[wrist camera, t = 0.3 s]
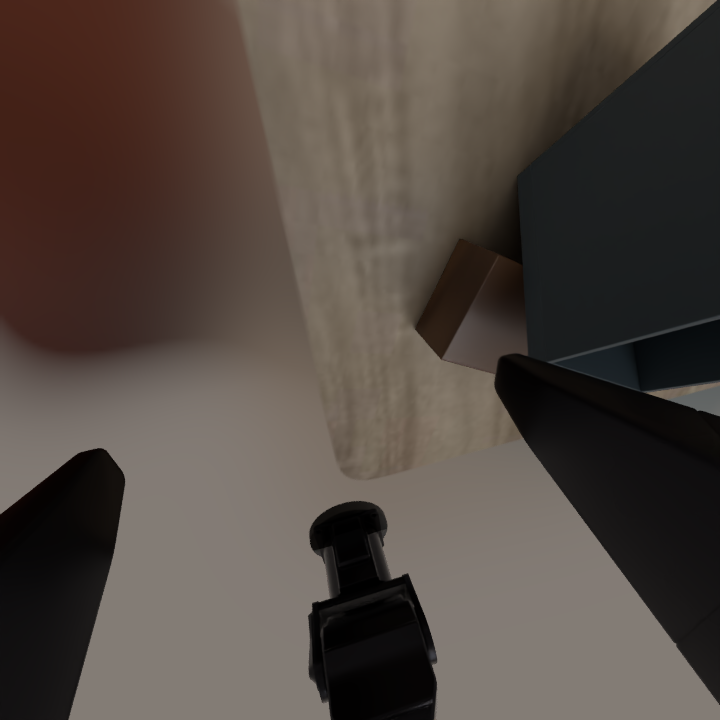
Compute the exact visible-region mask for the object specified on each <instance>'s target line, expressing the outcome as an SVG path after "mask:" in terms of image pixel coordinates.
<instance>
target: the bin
mask: <svg viewBox="0 0 720 720" xmlns="http://www.w3.org/2000/svg"><path fill="white" fill-rule="evenodd" d="M517 180H518V197H519V213H520V230H521V246H522V263H523V279H524V295H525V312H526V328H527V345H528V357H532V358H535V359H538V360H541V361H544V362H547V363H551V364H554V365H557V366H560V367H563V368H567V369H570V370H573V371H576V372H579V373H583V374H586V375H589V376H592V377H595V378H598V379H602V380H605V381H608V382H611V383H614V384H618V385H621V386H624V387H627V388H630V389H633V390H637V391H640V392H644V393H647V392H654V391H661V390H668V389H675V388H682V387H689V386H696V385H703V384H710V383H717V382H720V0H717V1H716V2H715V3H714V4H712V5H711V6H710V7H709V8H708V9H707V10H706V11H705V12H703V13H702V14H701V15H700V16H699V17H698V18H697V19H695V20H694V21H693V22H692V23H691V24H690V25H689V26H687V27H686V28H685V29H684V30H683V31H682V32H681V33H679V34H678V35H677V36H676V37H675V38H674V39H673V40H671V41H670V42H669V43H668V44H667V45H666V46H665V47H664V48H662V49H661V50H660V51H659V52H658V53H657V54H656V55H654V56H653V57H652V58H651V59H650V60H649V61H648V62H646V63H645V64H644V65H643V66H642V67H641V68H640V69H638V70H637V71H636V72H635V73H634V74H633V75H632V76H630V77H629V78H628V79H627V80H626V81H625V82H624V83H623V84H621V85H620V86H619V87H618V88H617V89H616V90H615V91H613V92H612V93H611V94H610V95H609V96H608V97H607V98H605V99H604V100H603V101H602V102H601V103H600V104H599V105H597V106H596V107H595V108H594V109H593V110H592V111H591V112H589V113H588V114H587V115H586V116H585V117H584V118H583V119H581V120H580V121H579V122H578V123H577V124H576V125H575V126H574V127H572V128H571V129H570V130H569V131H568V132H567V133H566V134H564V135H563V136H562V137H561V138H560V139H559V140H558V141H556V142H555V143H554V144H553V145H552V146H551V147H550V148H548V149H547V150H546V151H545V152H544V153H543V154H542V155H540V156H539V157H538V158H537V159H536V160H535V161H534V162H533V163H532V164H531V165H529V166H528V167H527V168H526V169H525V170H524V171H523V172H521V173H520V174H519V175H518V176H517Z"/></svg>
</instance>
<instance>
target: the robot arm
mask: <svg viewBox="0 0 720 720" xmlns="http://www.w3.org/2000/svg"><path fill="white" fill-rule="evenodd" d="M494 385H495V390H496V392H497V394H498V396H499V398H500V399H501V401H502V403H503V404H504V406H505V408H506V409H507V411H508V413H509V415H510V416H511V418H512V420H513V421H514V423H515V425H516V427H517V428H518V430H519V432H520V433H521V435H522V437H523V438H524V440H525V441H526V443H527V444H528V446H529V447H530V448H531V450H532V451H533V452H534V454H535V455H536V457H537V458H538V459H539V461H540V462H541V464H542V465H543V466H544V468H545V469H546V470H547V472H548V473H549V474H550V475H551V477H552V478H553V480H554V481H555V482H556V484H557V485H558V486H559V488H560V489H561V490H562V492H563V493H564V495H565V496H566V497H567V499H568V500H569V501H570V503H571V504H572V505H573V507H574V508H575V509H576V511H577V512H578V514H579V515H580V516H581V518H582V519H583V520H584V522H585V523H586V524H587V526H588V527H589V528H590V530H591V531H592V532H593V534H594V535H595V536H596V538H597V539H598V540H599V542H600V543H601V545H602V546H603V547H604V549H605V550H606V551H607V553H608V554H609V555H610V557H611V558H612V560H613V561H614V562H615V564H616V565H617V566H618V568H619V569H620V570H621V572H622V573H623V574H624V575H625V577H626V578H627V580H628V581H629V582H630V584H631V585H632V587H633V588H634V589H635V590H636V592H637V593H638V594H639V596H640V597H641V599H642V600H643V601H644V603H645V604H646V605H647V607H648V608H649V609H650V611H651V612H652V614H653V615H654V616H655V618H656V619H657V620H658V622H659V623H660V624H661V626H662V627H663V628H664V630H665V631H666V633H667V634H668V635H669V636H670V638H671V639H672V641H673V642H674V643H676V646H677V648H678V649H679V650H680V652H681V653H682V655H683V656H684V657H685V658H686V660H687V661H688V663H689V664H690V665H691V667H692V668H693V669H694V671H695V672H696V674H697V675H698V676H699V678H700V679H701V680H702V682H703V683H704V684H705V686H706V687H707V688H708V690H709V691H710V692H711V694H712V695H713V697H714V698H715V699H716V701H717V702H718V703H719V705H720V416H716V415H713V414H710V413H707V412H704V411H697V410H695V409H694V408H690V407H688V406H684V405H681V404H678V403H675V402H672V401H669V400H665V399H662V398H659V397H656V396H653V395H649V394H646V393H643V392H640V391H637V390H633V389H630V388H627V387H624V386H621V385H618V384H614V383H611V382H608V381H605V380H602V379H598V378H595V377H592V376H589V375H586V374H583V373H579V372H576V371H573V370H570V369H567V368H563V367H560V366H557V365H554V364H551V363H547V362H544V361H541V360H538V359H535V358H532V357H528V356H525V355H522V354H519V353H512V354H507V355H503V356H501V357H500V358H499V359H498V362H497V368H496V375H495V382H494ZM124 487H125V478H124V474H123V472H122V470H121V469H120V468H119V467H118V465H117V464H116V462H115V461H114V460H113V459H112V457H111V456H110V455H109V453H108V452H107V451H106V450H104V449H102V448H97V449H93V450H88V451H84V452H81V453H78V454H77V455H75V456H74V457H73V458H72V459H70V460H69V461H68V462H66V463H65V464H64V465H63V466H61V467H60V468H59V469H58V470H56V471H55V472H54V473H52V474H51V475H50V476H49V477H48V478H46V479H45V480H44V481H42V482H41V483H40V484H38V485H37V486H36V487H35V488H33V489H32V490H31V491H30V492H28V493H27V494H26V495H24V496H23V497H22V498H21V499H19V500H18V501H17V502H16V503H14V504H13V505H12V506H11V507H9V508H8V509H7V510H5V511H4V512H3V513H2V514H0V720H68V719H69V716H70V712H71V708H72V705H73V701H74V697H75V694H76V690H77V687H78V683H79V679H80V676H81V672H82V668H83V665H84V661H85V657H86V654H87V650H88V646H89V643H90V639H91V635H92V632H93V628H94V624H95V621H96V617H97V614H98V609H99V606H100V602H101V599H102V595H103V592H104V587H105V584H106V581H107V577H108V573H109V569H110V566H111V562H112V558H113V554H114V549H115V543H116V537H117V531H118V525H119V518H120V512H121V506H122V500H123V494H124ZM313 533H314V536H315V539H316V542H317V544H318V547H319V550H320V553H321V556H322V558H323V561H324V564H325V566H326V573H327V581H328V588H329V595H330V599H328V600H325V601H321V602H318V601H317V602H314V603H312V613H311V614H309V616H308V619H309V630H310V651H309V677H310V679H311V680H312V681H313V682H314V683H316V685H317V689H318V691H319V693H320V697H321V700H322V703H326V702H329V709H330V716H331V720H436V710H437V682H436V677H435V674H434V671H433V668H432V665H433V664H436V663H437V656H436V651H435V647H434V643H433V639H432V636H431V633H430V629H429V626H428V623H427V620H426V618H425V615H424V612H423V610H422V607H421V605H420V602H419V600H418V597H417V595H416V593H415V590H414V587H413V585H412V582H411V580H410V577H409V575H408V573H407V574H404V575H402V577H399V578H395V579H391V575H390V572H389V569H388V565H387V562H386V558H385V555H384V551H383V546H384V542H383V537H382V531H381V525H380V519H379V514H378V510H377V509H370V510H366V511H363V512H360V513H356V514H353V515H350V516H346V517H343V518H339V519H336V520H333V521H329V522H326V523H322V524H319V525H316V526H314V528H313Z"/></svg>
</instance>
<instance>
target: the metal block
mask: <svg viewBox="0 0 720 720" xmlns="http://www.w3.org/2000/svg"><path fill="white" fill-rule="evenodd" d="M415 330H416V331H417V332H418V333H419V334H420V336H421V337H422V338H423V339H424V340H425V341H426V343H427V344H428V345H429V346H430V347H431V348H432V349H433V351H434V352H435V353H436V354H437V355H438V356H439V357H440V359H441V360H445V361H448V362H452V363H456V364H459V365H463V366H467V367H470V368H474V369H478V370H481V371H485V372H489V373H493V374H496V368H497V362H498V359H499V358H500V357H501V356H503V355H507V354H512V353H519V354H522V355H525V356H528V345H527V328H526V312H525V295H524V279H523V265H522V264H520V263H518V262H516V261H513V260H511V259H509V258H507V257H504V256H502V255H500V254H498V253H495V252H493V251H490V250H488V249H485V248H483V247H480V246H478V245H475V244H473V243H470V242H468V241H465V240H463V239H459V241H458V243H457V245H456V248H455V250H454V252H453V254H452V256H451V258H450V260H449V262H448V264H447V266H446V268H445V270H444V272H443V274H442V276H441V278H440V280H439V282H438V284H437V286H436V288H435V290H434V292H433V294H432V296H431V298H430V300H429V302H428V304H427V306H426V308H425V310H424V313H423V315H422V317H421V319H420V321H419V323H418V325H417V327H416V329H415Z"/></svg>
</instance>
